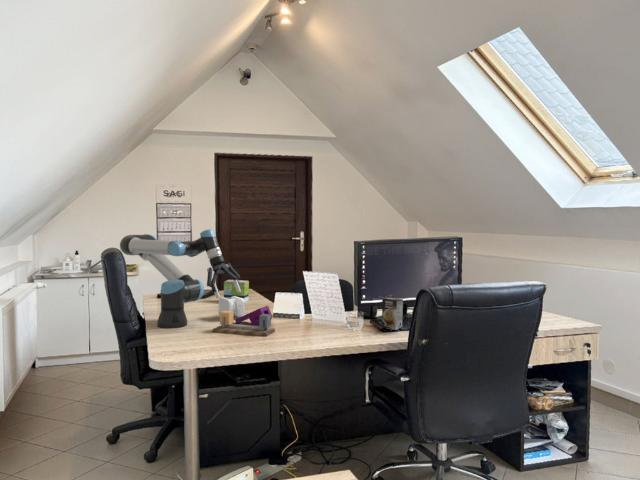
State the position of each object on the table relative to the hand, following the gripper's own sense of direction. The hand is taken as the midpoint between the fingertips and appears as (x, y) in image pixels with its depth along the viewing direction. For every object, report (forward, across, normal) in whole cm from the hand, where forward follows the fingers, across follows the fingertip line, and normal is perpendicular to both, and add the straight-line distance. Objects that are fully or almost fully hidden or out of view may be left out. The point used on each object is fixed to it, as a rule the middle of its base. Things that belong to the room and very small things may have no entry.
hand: (228, 294), depth 257 cm
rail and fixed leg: (+20, -5, -10) cm, 23 cm away
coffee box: (+48, +53, -52) cm, 88 cm away
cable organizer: (+11, +12, +22) cm, 27 cm away
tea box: (-1, +48, +64) cm, 80 cm away
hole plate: (+21, -6, -10) cm, 24 cm away
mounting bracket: (+19, +9, +2) cm, 21 cm away
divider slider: (+15, -10, -2) cm, 18 cm away
